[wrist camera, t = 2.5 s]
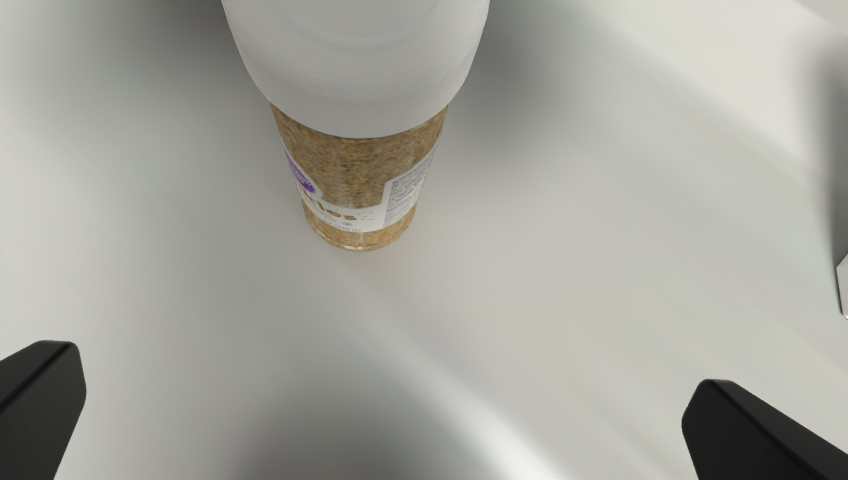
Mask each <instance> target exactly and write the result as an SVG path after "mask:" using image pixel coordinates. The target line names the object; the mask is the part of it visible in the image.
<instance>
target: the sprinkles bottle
mask: <svg viewBox="0 0 848 480" xmlns="http://www.w3.org/2000/svg"><path fill="white" fill-rule="evenodd" d="M221 1H222V5H223V8H224V11H225V15H226V18H227V21H228V24H229V27H230V30H231V33H232V36H233V38H234V41H235V43H236V46H237V48H238V51H239V53H240V55H241V58H242V60H243V63H244V65H245V67H246V69H247V71H248V73H249V75H250V76H251V78H252V80H253V81H254V83H255V85H256V86H257V87H258V88H259V90H260V91H261V92H262V93H263V95H264V96H265V97H266V98H267V99H268V100H269V102H270V106H271V108H272V110H273V113H274V116H275V119H276V121H277V123H278V130H279V135H280V138H281V142H282V144H283V147H284V150H285V152H286V155H287V158H288V160H289V163H290V166H291V169H292V172H293V175H294V178H295V181H296V185H297V188H298V190H299V192H300V195H301V197H302V203H303V208H304V211H305V214H306V218H307V220H308V221H309V223H310V224H311V226H312V227H313V229H314V230H315V232H316V233H317V234H318V235H320V236H321V237H322V238H323V239H325V240H326V241H327V242H329V243H330V244H332V245H335V246H337V247H340V248H343V249H346V250H349V251H369V250H373V249H378V248H381V247H383V246H385V245H387V244H389V243H391V242H392V241H394V240H396V239H398V238H399V237H400V235H401V234H402V233H403V231H404V230H405V229H406V228H407V227H408V225H409V224H410V222H411V220H412V218H413V216H414V213H415V208H416V203H417V198H418V196H419V194H420V191H421V189H422V186H423V183H424V180H425V177H426V174H427V171H428V168H429V165H430V162H431V159H432V156H433V153H434V151H435V148H436V145H437V142H438V139H439V137H440V134H441V130H442V127H443V122H444V117H445V113H446V110H447V107H448V103H449V102H450V101H451V100H452V99H453V97H454V96H455V95H456V94H457V92H458V91H459V90H460V88H461V86H462V85H463V83H464V81H465V79H466V77H467V75H468V73H469V70H470V68H471V65H472V62H473V59H474V56H475V54H476V51H477V48H478V45H479V42H480V39H481V36H482V32H483V29H484V26H485V22H486V19H487V15H488V10H489V4H490V0H221Z"/></svg>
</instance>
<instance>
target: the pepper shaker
mask: <svg viewBox="0 0 848 480" xmlns="http://www.w3.org/2000/svg"><path fill="white" fill-rule="evenodd" d="M836 271H837V278H838V284H839V291H840V298H841V305H842V311H843V316H844V317H845V318H846V319H848V254H847V255H846V257H845V258H844V259H843V260H842V262H841V263H840V264H839V265H838V266H837V268H836Z"/></svg>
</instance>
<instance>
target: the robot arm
mask: <svg viewBox="0 0 848 480" xmlns="http://www.w3.org/2000/svg"><path fill="white" fill-rule="evenodd" d="M85 400H86V383H85V378H84V373H83V368H82V363H81V358H80V353H79V350H78V347H77V346H76V344H74V343H72V342H69V341H53V340H41V341H38V342H35V343H33V344H31V345H29V346H27V347H26V348H24V349H22V350H20V351H18V352H16V353H14V354H12V355H10V356H9V357H7V358H5V359H3V360H1V361H0V480H54V477H55V475H56V472H57V470H58V467H59V465H60V463H61V460H62V458H63V455H64V453H65V450H66V448H67V446H68V443H69V441H70V438H71V436H72V433H73V431H74V429H75V426H76V424H77V421H78V419H79V416H80V414H81V412H82V409H83V407H84V404H85ZM682 432H683V436H684V439H685V441H686V444H687V447H688V450H689V453H690V456H691V459H692V462H693V465H694V468H695V470H696V473H697V476H698V479H699V480H848V454H846V453H845V452H843V451H842V450H840V449H839V448H837V447H835V446H834V445H832V444H831V443H829V442H827V441H826V440H824V439H823V438H821V437H820V436H818V435H816V434H815V433H813V432H812V431H810V430H809V429H807V428H805V427H804V426H802V425H801V424H799V423H798V422H796V421H794V420H793V419H791V418H790V417H788V416H787V415H785V414H783V413H782V412H780V411H779V410H777V409H775V408H774V407H772V406H771V405H769V404H768V403H766V402H764V401H763V400H761V399H760V398H758V397H757V396H755V395H753V394H752V393H750V392H749V391H747V390H746V389H744V388H742V387H741V386H739V385H738V384H736V383H734V382H732V381H729V380H720V379H705V380H703V381H702V382H700V383H699V385H698V386H697V388H696V390H695V392H694V394H693V396H692V398H691V400H690V402H689V404H688V406H687V408H686V410H685V412H684V414H683V417H682Z"/></svg>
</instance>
